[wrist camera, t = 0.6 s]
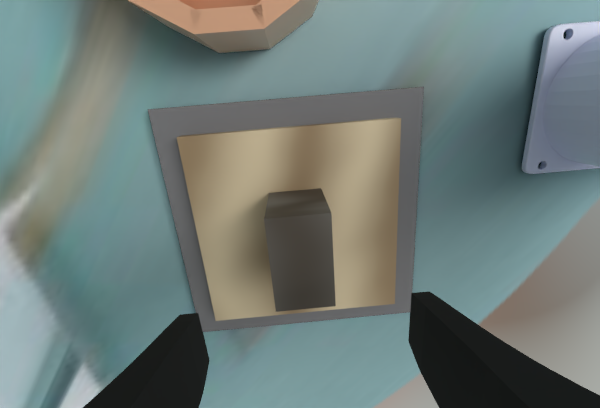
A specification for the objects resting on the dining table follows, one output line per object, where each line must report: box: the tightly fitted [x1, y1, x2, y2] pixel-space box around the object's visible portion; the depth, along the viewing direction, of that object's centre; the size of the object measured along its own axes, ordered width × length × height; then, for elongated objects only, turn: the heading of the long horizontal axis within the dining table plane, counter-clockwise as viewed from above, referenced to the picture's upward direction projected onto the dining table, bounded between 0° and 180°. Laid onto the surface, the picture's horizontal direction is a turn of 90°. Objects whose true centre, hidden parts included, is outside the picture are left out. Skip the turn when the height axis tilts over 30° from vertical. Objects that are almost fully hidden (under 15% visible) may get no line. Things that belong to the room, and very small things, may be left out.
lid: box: [177, 118, 401, 321], centre depth 16 cm, size 12×12×5 cm
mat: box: [148, 87, 424, 332], centre depth 19 cm, size 15×15×1 cm
